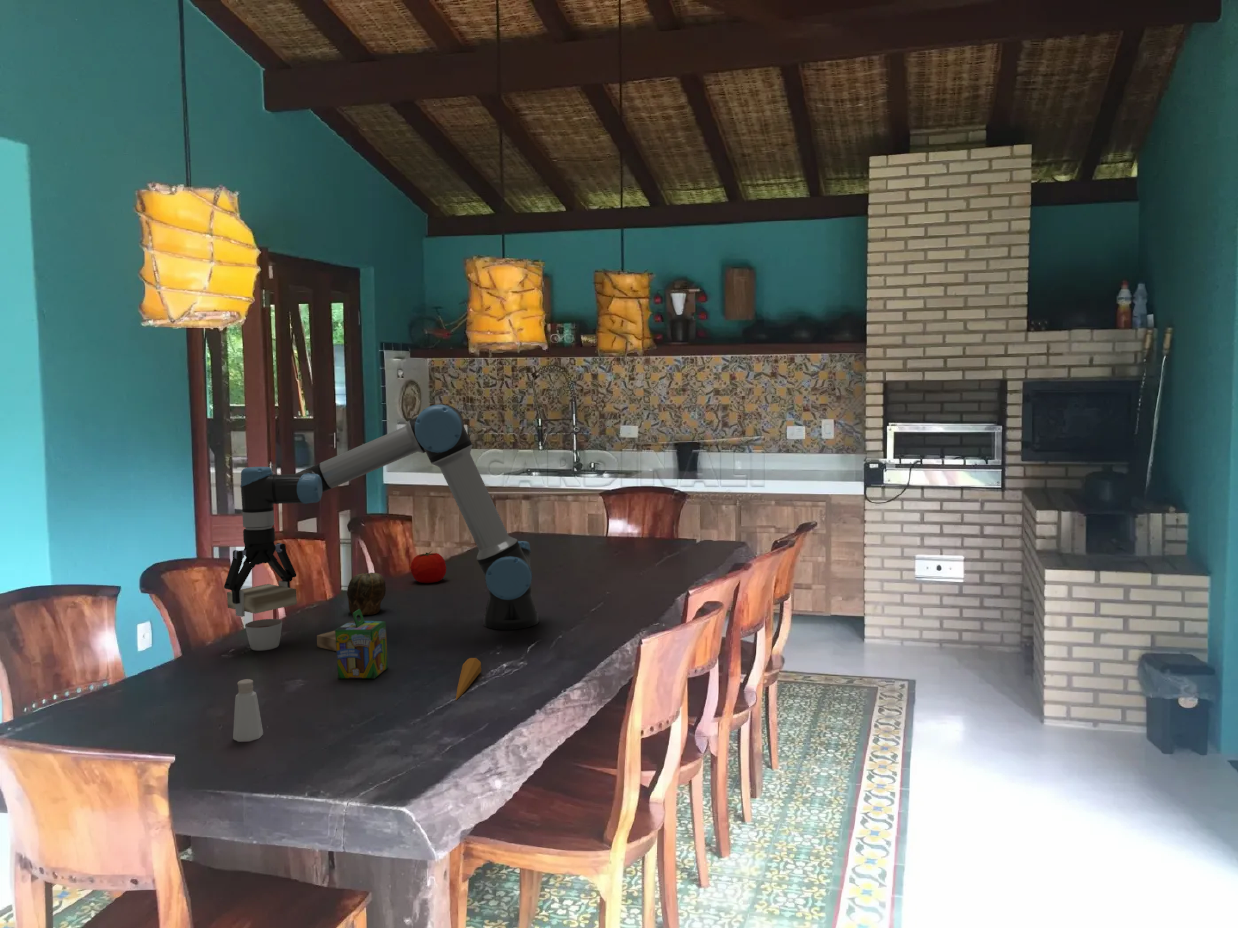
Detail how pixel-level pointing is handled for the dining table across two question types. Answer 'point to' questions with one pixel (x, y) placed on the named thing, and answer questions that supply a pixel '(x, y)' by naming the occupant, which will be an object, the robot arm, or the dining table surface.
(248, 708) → the salt shaker
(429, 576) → the tomato
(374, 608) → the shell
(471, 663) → the carrot
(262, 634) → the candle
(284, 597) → the cover board
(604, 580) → the dining table surface
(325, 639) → the trivet
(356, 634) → the chalk box
